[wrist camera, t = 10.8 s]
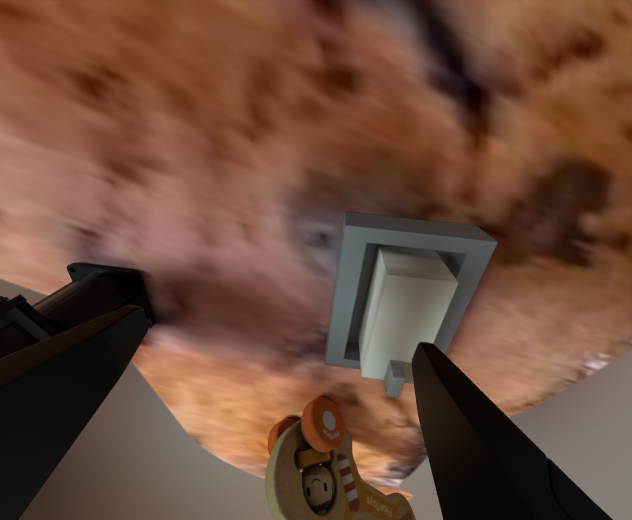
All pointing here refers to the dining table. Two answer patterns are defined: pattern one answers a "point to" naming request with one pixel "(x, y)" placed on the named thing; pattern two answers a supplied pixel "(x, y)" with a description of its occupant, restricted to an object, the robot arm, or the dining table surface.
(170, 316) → the dining table surface
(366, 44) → the dining table surface
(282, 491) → the toy helicopter
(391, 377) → the white block with tab
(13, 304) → the robot arm
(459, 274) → the cradle
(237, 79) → the dining table surface
